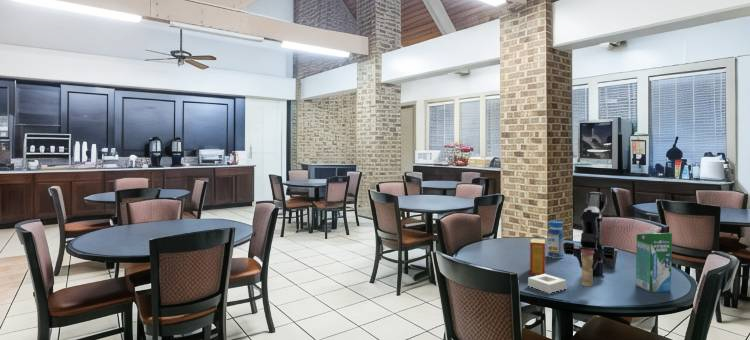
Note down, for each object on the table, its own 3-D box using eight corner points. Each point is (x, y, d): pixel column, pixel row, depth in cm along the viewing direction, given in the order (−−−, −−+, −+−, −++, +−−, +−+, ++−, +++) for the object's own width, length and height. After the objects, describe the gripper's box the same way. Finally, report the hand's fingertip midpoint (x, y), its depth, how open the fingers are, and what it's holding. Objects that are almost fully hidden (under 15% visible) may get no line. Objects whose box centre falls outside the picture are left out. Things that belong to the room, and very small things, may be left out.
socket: (544, 282, 185) (544, 273, 185) (566, 289, 175) (566, 280, 175) (528, 286, 180) (528, 277, 179) (549, 294, 170) (549, 284, 170)
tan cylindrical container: (590, 282, 168) (590, 248, 167) (595, 286, 163) (596, 251, 163) (578, 282, 168) (579, 248, 167) (583, 286, 163) (584, 251, 163)
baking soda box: (531, 268, 206) (531, 237, 205) (545, 270, 203) (545, 238, 202) (530, 274, 197) (530, 241, 196) (544, 275, 195) (544, 242, 194)
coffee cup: (620, 269, 203) (621, 249, 202) (603, 268, 204) (603, 249, 204) (614, 265, 211) (614, 245, 210) (597, 264, 212) (597, 245, 212)
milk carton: (655, 284, 180) (656, 228, 179) (671, 291, 171) (672, 232, 170) (635, 284, 180) (636, 229, 179) (650, 292, 171) (651, 233, 170)
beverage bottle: (566, 258, 224) (566, 222, 223) (551, 258, 224) (551, 222, 223) (559, 254, 232) (560, 220, 231) (545, 254, 233) (545, 220, 232)
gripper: (564, 223, 173) (559, 254, 164) (614, 227, 163) (613, 260, 154) (566, 237, 180) (562, 268, 171) (615, 242, 170) (613, 275, 161)
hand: (586, 268), depth 164 cm, fingers closed on tan cylindrical container, 4 cm apart
